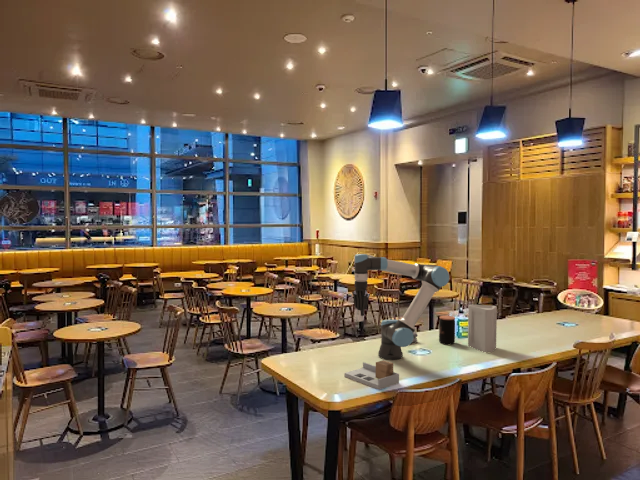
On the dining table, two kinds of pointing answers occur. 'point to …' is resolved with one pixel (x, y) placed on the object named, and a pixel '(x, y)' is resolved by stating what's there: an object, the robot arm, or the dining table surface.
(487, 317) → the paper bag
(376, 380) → the deck
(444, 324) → the coffee jar
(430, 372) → the dining table surface
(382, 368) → the block
